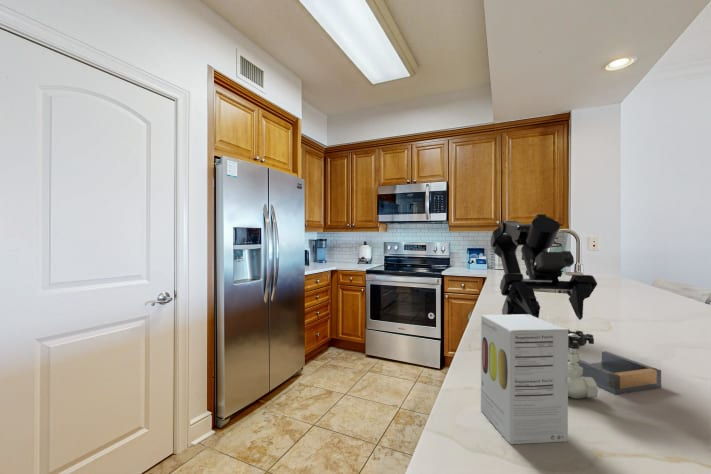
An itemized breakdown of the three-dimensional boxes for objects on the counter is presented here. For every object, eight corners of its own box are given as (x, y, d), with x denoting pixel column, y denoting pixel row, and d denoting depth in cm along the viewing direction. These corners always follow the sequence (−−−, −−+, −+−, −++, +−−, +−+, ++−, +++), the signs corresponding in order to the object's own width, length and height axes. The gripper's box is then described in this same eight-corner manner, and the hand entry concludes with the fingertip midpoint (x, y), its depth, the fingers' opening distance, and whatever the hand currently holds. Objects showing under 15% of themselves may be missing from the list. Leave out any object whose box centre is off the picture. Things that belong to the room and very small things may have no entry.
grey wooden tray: (564, 371, 71) (564, 355, 71) (605, 366, 74) (605, 351, 74) (615, 394, 60) (615, 376, 60) (661, 387, 63) (661, 370, 63)
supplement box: (479, 410, 55) (478, 313, 55) (529, 407, 55) (528, 312, 56) (510, 446, 45) (510, 329, 45) (570, 442, 46) (570, 328, 46)
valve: (603, 408, 55) (602, 340, 55) (561, 404, 57) (561, 338, 57) (583, 390, 62) (583, 329, 62) (547, 387, 63) (547, 327, 63)
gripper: (503, 239, 74) (517, 293, 63) (592, 239, 70) (623, 297, 59) (495, 269, 82) (506, 322, 71) (575, 270, 78) (600, 327, 67)
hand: (556, 317), depth 67 cm, fingers open, 9 cm apart
